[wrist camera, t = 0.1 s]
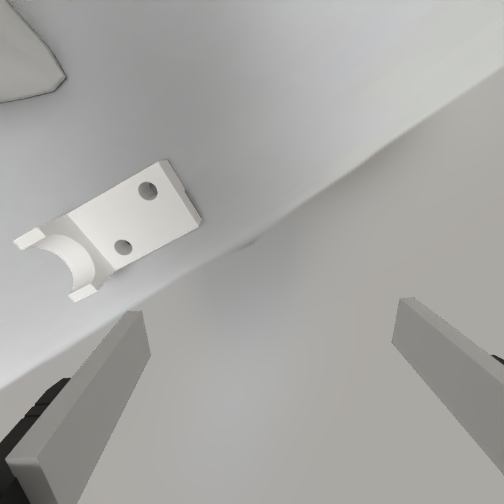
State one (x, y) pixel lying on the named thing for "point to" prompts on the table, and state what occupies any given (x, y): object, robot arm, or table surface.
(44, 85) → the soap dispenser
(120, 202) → the white pipe support bracket
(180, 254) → the table surface
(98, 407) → the robot arm
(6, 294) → the table surface
